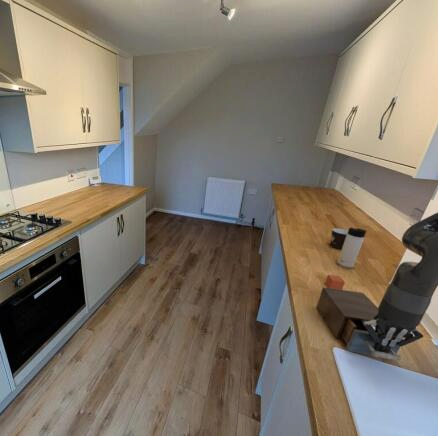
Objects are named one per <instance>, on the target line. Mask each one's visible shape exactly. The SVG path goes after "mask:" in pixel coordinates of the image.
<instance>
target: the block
mask: <svg viewBox="0 0 438 436" xmlns="http://www.w3.org/2000/svg"><path fill="white" fill-rule="evenodd" d="M345 283H346V281H344V279H343V278H342V277H341V276H340V275H334V274H327V276H326V279H325V282H324V284H325V285H326V287H327V288H331V289H339V290H344V289H343V288H344V286H345Z"/></svg>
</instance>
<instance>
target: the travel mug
mask: <svg viewBox="0 0 438 436" xmlns="http://www.w3.org/2000/svg"><path fill="white" fill-rule="evenodd" d="M347 231H348V233H347V236H346V239H345V242H344V245H343V248H342V250H340V254H339V257H338V260H337V262H336V263H337V265H338V264H339V265H338V266H339V267H341V268H344V269H348V270H349V269H350V270H351V269H354V267H355V265H356V261H357V258H358V256H359V253H360V250H361V248H362V246H363V242H364V240H365V237H366V233H367V230H365V229H363V228H354V227H349V228H348V230H347Z"/></svg>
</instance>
